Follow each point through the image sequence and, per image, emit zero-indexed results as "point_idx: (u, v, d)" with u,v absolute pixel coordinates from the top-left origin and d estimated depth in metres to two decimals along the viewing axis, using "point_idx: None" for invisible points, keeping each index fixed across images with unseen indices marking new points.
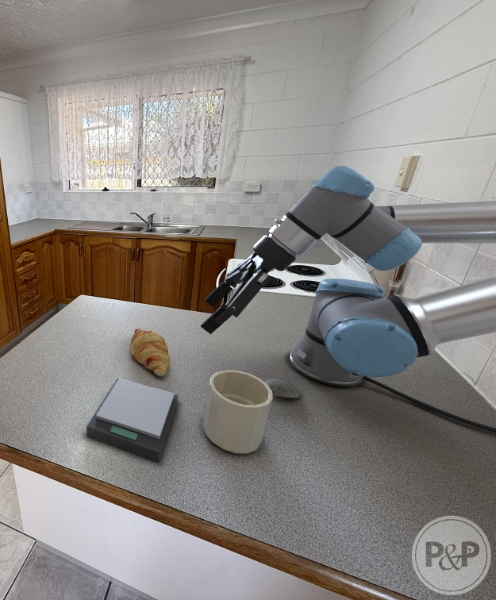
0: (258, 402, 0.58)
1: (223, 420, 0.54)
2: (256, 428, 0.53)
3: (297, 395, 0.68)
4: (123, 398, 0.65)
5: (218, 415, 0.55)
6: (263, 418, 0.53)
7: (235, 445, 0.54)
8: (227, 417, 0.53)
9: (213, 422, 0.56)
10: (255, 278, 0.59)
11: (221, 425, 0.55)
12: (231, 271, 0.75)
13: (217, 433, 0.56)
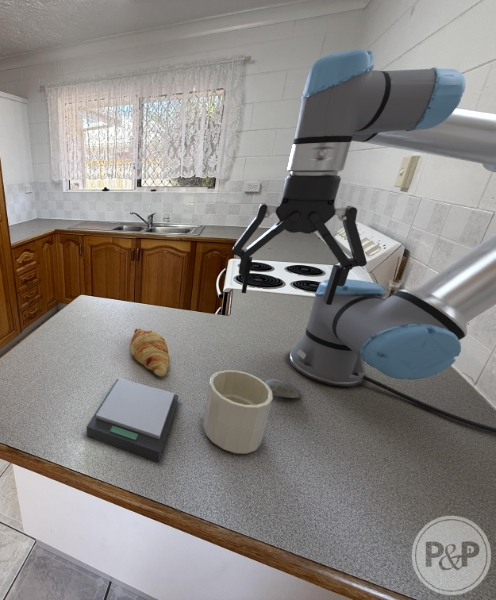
0: (258, 402, 0.58)
1: (223, 420, 0.54)
2: (256, 428, 0.53)
3: (297, 395, 0.68)
4: (123, 398, 0.65)
5: (218, 415, 0.55)
6: (263, 418, 0.53)
7: (235, 445, 0.54)
8: (227, 417, 0.53)
9: (213, 422, 0.56)
10: None
11: (221, 425, 0.55)
12: (239, 245, 0.57)
13: (217, 433, 0.56)
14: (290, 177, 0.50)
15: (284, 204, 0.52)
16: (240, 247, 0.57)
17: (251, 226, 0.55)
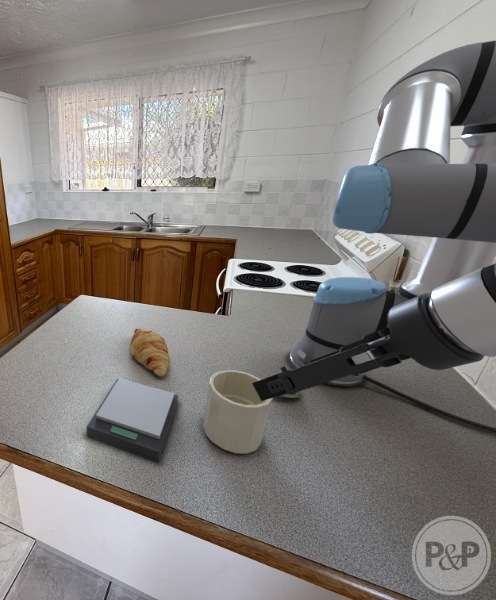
0: (258, 402, 0.58)
1: (223, 420, 0.54)
2: (256, 428, 0.53)
3: (297, 395, 0.68)
4: (123, 398, 0.65)
5: (218, 415, 0.55)
6: (263, 418, 0.53)
7: (235, 445, 0.54)
8: (227, 417, 0.53)
9: (213, 422, 0.56)
10: None
11: (221, 425, 0.55)
12: (305, 388, 0.37)
13: (217, 433, 0.56)
14: (449, 347, 0.29)
15: (397, 356, 0.33)
16: None
17: (339, 377, 0.35)
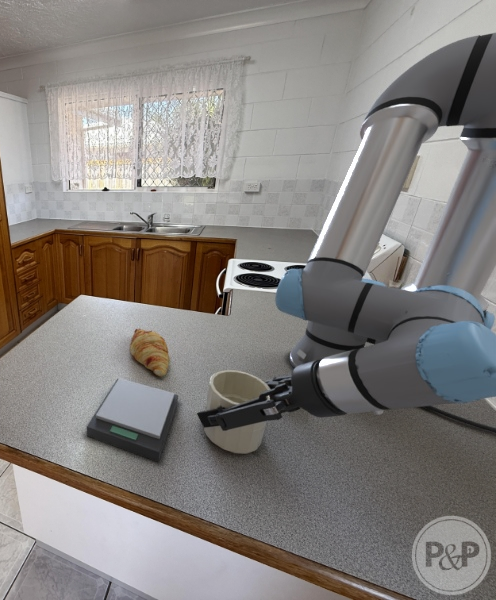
0: None
1: None
2: (256, 428, 0.53)
3: None
4: (123, 398, 0.65)
5: None
6: None
7: (235, 445, 0.54)
8: None
9: None
10: None
11: None
12: None
13: (217, 433, 0.56)
14: (328, 407, 0.41)
15: (296, 407, 0.44)
16: None
17: (255, 422, 0.46)
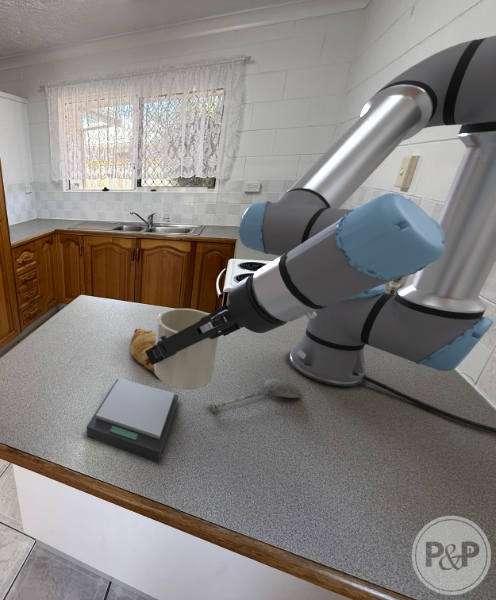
0: None
1: None
2: (203, 360, 0.51)
3: (297, 395, 0.68)
4: (123, 398, 0.65)
5: None
6: (209, 349, 0.50)
7: (182, 380, 0.52)
8: None
9: None
10: None
11: (167, 359, 0.52)
12: (174, 353, 0.46)
13: (164, 369, 0.53)
14: (261, 315, 0.38)
15: (234, 323, 0.42)
16: None
17: (193, 343, 0.44)
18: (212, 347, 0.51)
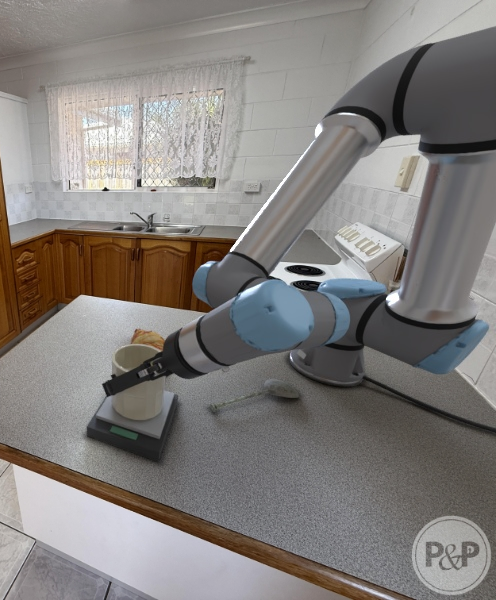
0: None
1: None
2: (149, 395, 0.56)
3: (297, 395, 0.68)
4: None
5: None
6: (155, 385, 0.56)
7: (132, 411, 0.58)
8: None
9: None
10: None
11: (119, 393, 0.58)
12: (119, 391, 0.52)
13: (117, 401, 0.59)
14: (185, 367, 0.44)
15: (167, 370, 0.48)
16: None
17: (133, 385, 0.49)
18: (158, 383, 0.56)
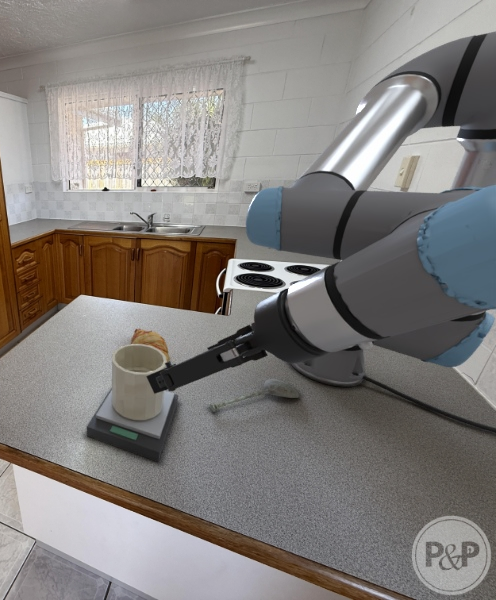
0: None
1: (120, 388, 0.57)
2: (149, 395, 0.56)
3: (297, 395, 0.68)
4: None
5: (116, 384, 0.58)
6: None
7: (132, 411, 0.58)
8: (122, 385, 0.57)
9: (114, 391, 0.59)
10: None
11: (119, 393, 0.58)
12: None
13: (117, 401, 0.59)
14: (299, 344, 0.30)
15: (260, 351, 0.34)
16: None
17: None
18: None
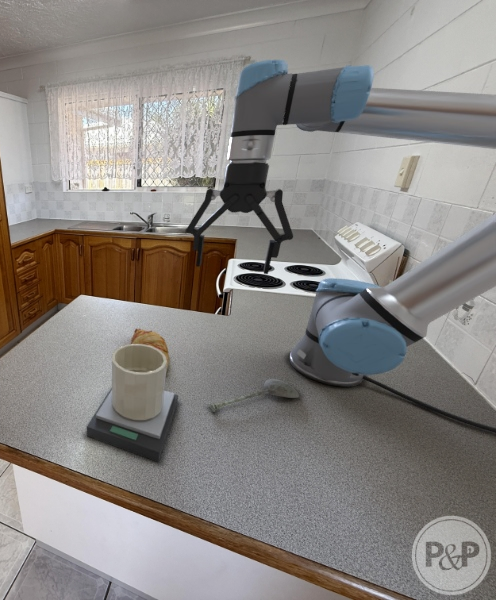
0: None
1: (120, 388, 0.57)
2: (149, 395, 0.56)
3: (297, 395, 0.68)
4: None
5: (116, 384, 0.58)
6: (155, 385, 0.56)
7: (132, 411, 0.58)
8: (122, 385, 0.57)
9: (114, 391, 0.59)
10: None
11: (119, 393, 0.58)
12: (192, 224, 0.67)
13: (117, 401, 0.59)
14: (228, 165, 0.60)
15: (226, 188, 0.62)
16: (193, 226, 0.67)
17: (200, 208, 0.65)
18: (158, 383, 0.56)
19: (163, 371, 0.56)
